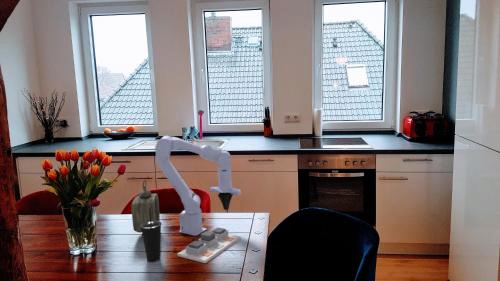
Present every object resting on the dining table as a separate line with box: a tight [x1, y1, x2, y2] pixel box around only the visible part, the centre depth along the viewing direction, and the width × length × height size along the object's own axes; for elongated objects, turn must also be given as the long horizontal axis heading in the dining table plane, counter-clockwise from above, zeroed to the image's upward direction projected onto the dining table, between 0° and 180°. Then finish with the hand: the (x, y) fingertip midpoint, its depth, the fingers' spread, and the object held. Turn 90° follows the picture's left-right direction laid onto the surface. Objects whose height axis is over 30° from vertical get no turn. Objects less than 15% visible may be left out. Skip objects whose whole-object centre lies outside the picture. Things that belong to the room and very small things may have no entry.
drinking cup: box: [140, 208, 163, 263], centre depth 144 cm, size 8×8×20 cm
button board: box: [177, 229, 241, 264], centre depth 154 cm, size 13×24×4 cm, turn 149°
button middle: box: [200, 230, 215, 241], centre depth 154 cm, size 4×4×3 cm
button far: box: [211, 227, 227, 234], centre depth 160 cm, size 4×4×3 cm
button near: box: [188, 240, 204, 249], centre depth 148 cm, size 4×4×3 cm
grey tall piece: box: [131, 178, 161, 238], centre depth 165 cm, size 14×9×25 cm, turn 6°
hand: (226, 209), depth 170 cm, fingers closed
